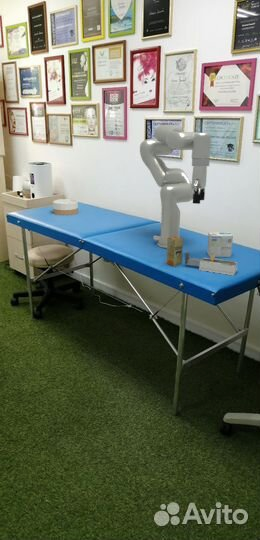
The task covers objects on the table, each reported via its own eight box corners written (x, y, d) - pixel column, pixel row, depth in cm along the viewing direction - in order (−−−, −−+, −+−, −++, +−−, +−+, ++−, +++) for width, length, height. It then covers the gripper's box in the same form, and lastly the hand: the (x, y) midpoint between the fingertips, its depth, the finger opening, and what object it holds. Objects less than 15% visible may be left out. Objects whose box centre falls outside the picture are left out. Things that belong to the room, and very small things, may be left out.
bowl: (51, 215, 276) (50, 203, 273) (56, 210, 292) (55, 198, 289) (76, 215, 275) (75, 203, 272) (80, 210, 291) (79, 199, 288)
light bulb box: (227, 252, 199) (229, 231, 195) (231, 257, 193) (233, 235, 189) (206, 252, 199) (208, 231, 195) (209, 257, 192) (211, 235, 189)
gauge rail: (198, 270, 175) (199, 261, 174) (203, 265, 181) (203, 256, 180) (233, 275, 169) (234, 266, 168) (236, 270, 175) (237, 261, 174)
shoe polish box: (166, 263, 183) (167, 238, 179) (174, 261, 186) (175, 236, 182) (173, 266, 180) (175, 240, 175) (181, 264, 182) (183, 238, 178)
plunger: (184, 263, 179) (185, 252, 177) (186, 261, 182) (187, 250, 180) (212, 268, 174) (213, 256, 172) (214, 265, 177) (215, 254, 175)
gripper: (196, 161, 185) (194, 198, 190) (187, 163, 169) (186, 204, 175) (212, 161, 182) (210, 199, 188) (205, 164, 167) (203, 205, 173)
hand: (198, 201), depth 181 cm, fingers open, 9 cm apart
